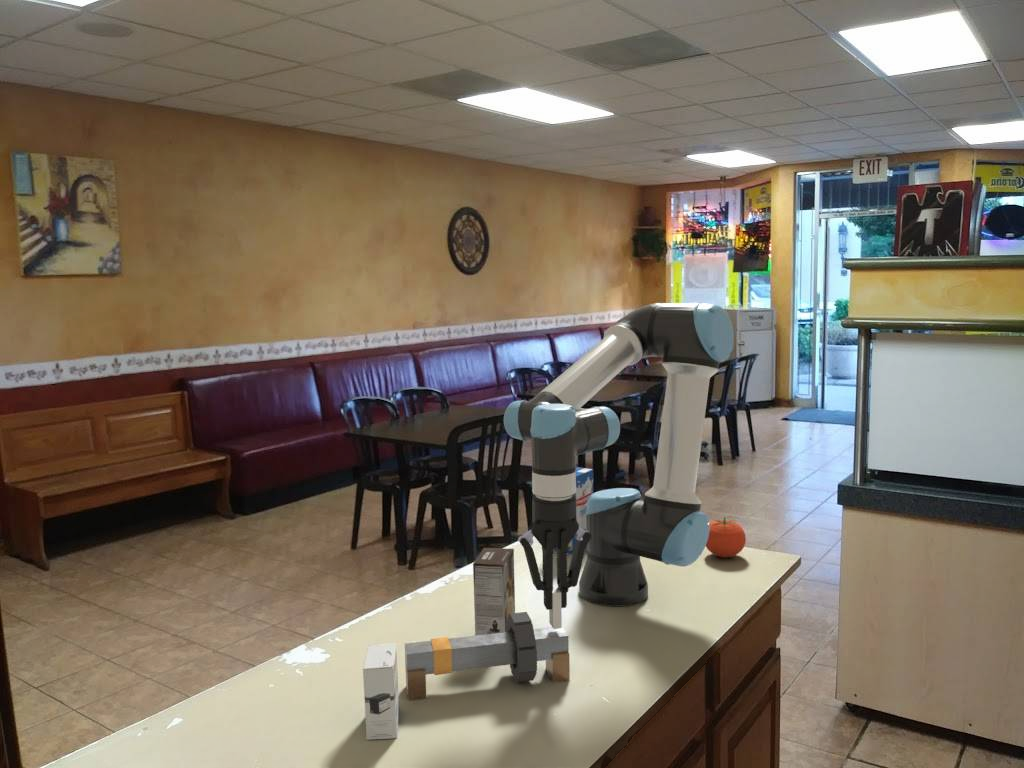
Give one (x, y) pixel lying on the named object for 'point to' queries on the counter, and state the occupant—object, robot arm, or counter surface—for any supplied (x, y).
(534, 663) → the gray octagonal collar
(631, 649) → the counter surface
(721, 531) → the tomato
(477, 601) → the coffee box
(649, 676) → the counter surface
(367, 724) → the ink box
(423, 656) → the pipe
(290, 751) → the counter surface
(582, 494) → the milk carton
